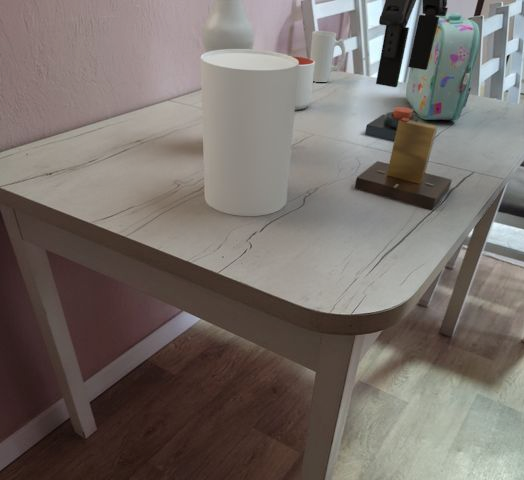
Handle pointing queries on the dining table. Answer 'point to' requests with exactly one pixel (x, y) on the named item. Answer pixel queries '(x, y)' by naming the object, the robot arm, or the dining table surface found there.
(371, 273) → the dining table surface
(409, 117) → the bell button
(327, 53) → the mug
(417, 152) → the block
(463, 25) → the lunch box
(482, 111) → the dining table surface
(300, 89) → the cup
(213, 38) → the white bottle
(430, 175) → the plate
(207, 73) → the canister
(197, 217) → the dining table surface
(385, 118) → the push button base
